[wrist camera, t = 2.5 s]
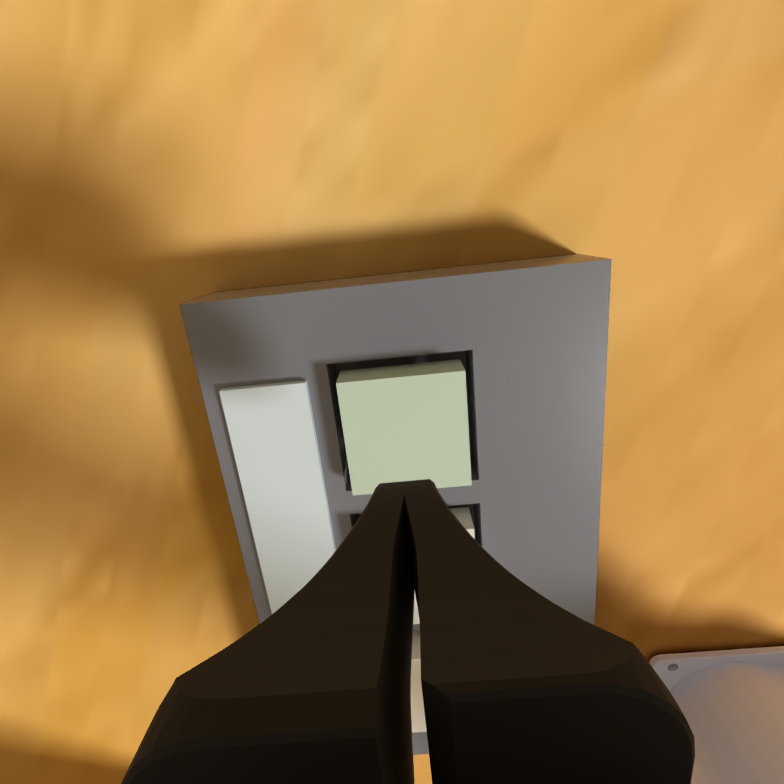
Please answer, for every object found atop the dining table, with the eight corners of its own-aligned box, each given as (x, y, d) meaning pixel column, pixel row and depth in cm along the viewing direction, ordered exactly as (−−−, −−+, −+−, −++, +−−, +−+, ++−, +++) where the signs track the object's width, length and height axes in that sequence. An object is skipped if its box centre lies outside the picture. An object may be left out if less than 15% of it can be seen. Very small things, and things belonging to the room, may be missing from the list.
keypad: (577, 253, 18) (615, 259, 15) (567, 685, 25) (591, 750, 22) (213, 292, 18) (175, 305, 15) (305, 703, 26) (292, 768, 23)
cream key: (475, 626, 20) (481, 654, 19) (480, 697, 22) (485, 728, 21) (379, 633, 21) (378, 661, 19) (389, 703, 22) (388, 734, 21)
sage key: (460, 359, 17) (465, 370, 15) (466, 466, 18) (471, 485, 17) (340, 370, 17) (335, 383, 15) (356, 475, 18) (352, 495, 17)
